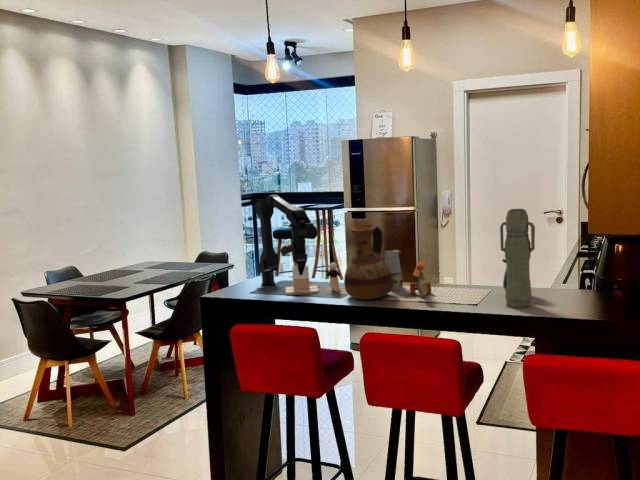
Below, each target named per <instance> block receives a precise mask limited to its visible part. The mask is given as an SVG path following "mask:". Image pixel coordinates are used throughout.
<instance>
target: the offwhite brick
mask: <svg viewBox="0 0 640 480" xmlns="http://www.w3.org/2000/svg"><path fill="white" fill-rule="evenodd" d="M309 271H310V269H309V265H308V264H307V265H305V268H304V271H303V274H302V275H300V274H299V270H298V266H297V265H292V266H291V272H292V280H293V279H303V278H309V279H310V273H309Z"/></svg>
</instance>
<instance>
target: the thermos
mask: <svg viewBox="0 0 640 480" xmlns="http://www.w3.org/2000/svg"><path fill="white" fill-rule="evenodd" d="M504 226H505V231H506V235H505V236H506V237H505V238H506V239H505V241H504ZM529 227H530V235H531V236H530V235H529ZM499 231H500V251H502V252H503V253H504V258H505V260H506V263H505V264H506V267H505V268H507V287H506V290H504V292H505V301H506V303H505V305H506V307H507V308H510V309H528V308H531V307H532V286H531V287H530V282H531V277H530V275H531V274H530V259H531V257H532V256H531V253H532V252H533V251H535V249H536V248H535V247H536V246H535V244H536V243H535V241H536V240H535V237H536V236H535V235H536V226H535V225H534V223H533V222H530V221H529V215H528V213H527V210H526V209H524V208H512V209H510V210H508V211H507V213H506V217H505V222H502V223H501V225H500V229H499ZM529 236H530V238H529Z"/></svg>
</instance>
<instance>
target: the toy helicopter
mask: <svg viewBox="0 0 640 480" xmlns="http://www.w3.org/2000/svg"><path fill="white" fill-rule="evenodd" d="M426 264H427V261H426V260H421V261H419V262H418V264H417V265H416V267H414V268H415V269H414V271H413V273H412V276H414V277H415V282H410V283H409V292H410V295H411V296H412V295H416V291H418V294H419V297H420V298H424V297H426V294H427V295H430V294H431V293H432V283H431V281H426V278H425V276H424V272H425V266H426Z"/></svg>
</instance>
